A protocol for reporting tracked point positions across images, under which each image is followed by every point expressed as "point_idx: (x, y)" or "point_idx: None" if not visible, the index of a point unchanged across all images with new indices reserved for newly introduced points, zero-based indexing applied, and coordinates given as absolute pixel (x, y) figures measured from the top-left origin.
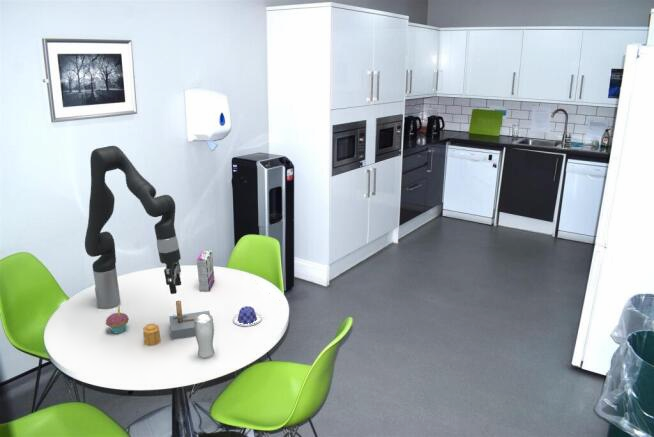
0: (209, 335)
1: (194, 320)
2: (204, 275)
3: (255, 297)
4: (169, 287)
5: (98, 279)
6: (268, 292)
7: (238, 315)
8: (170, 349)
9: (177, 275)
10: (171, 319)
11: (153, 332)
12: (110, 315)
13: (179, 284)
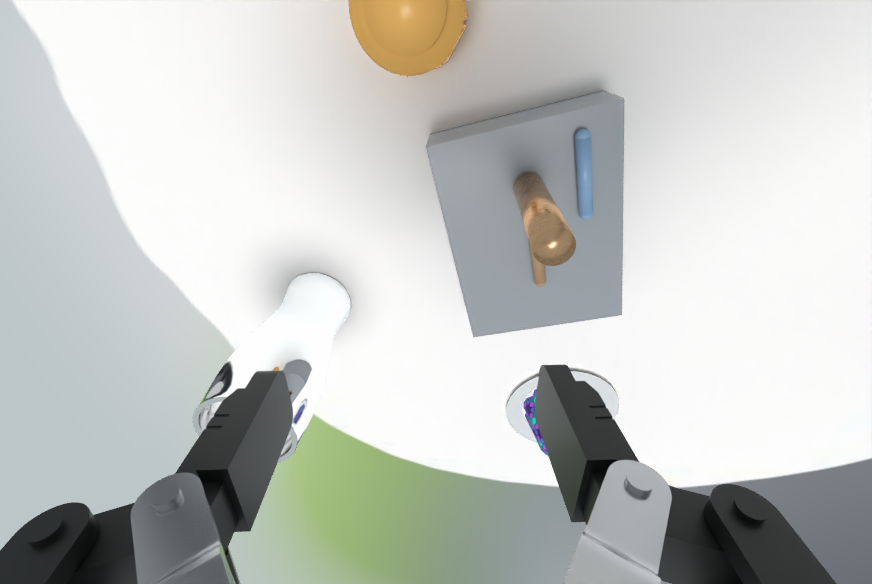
0: None
1: (210, 399)
2: None
3: (740, 429)
4: (219, 433)
5: None
6: (760, 462)
7: (600, 384)
8: (341, 147)
9: (587, 518)
10: (573, 123)
11: (361, 44)
12: None
13: (537, 408)
